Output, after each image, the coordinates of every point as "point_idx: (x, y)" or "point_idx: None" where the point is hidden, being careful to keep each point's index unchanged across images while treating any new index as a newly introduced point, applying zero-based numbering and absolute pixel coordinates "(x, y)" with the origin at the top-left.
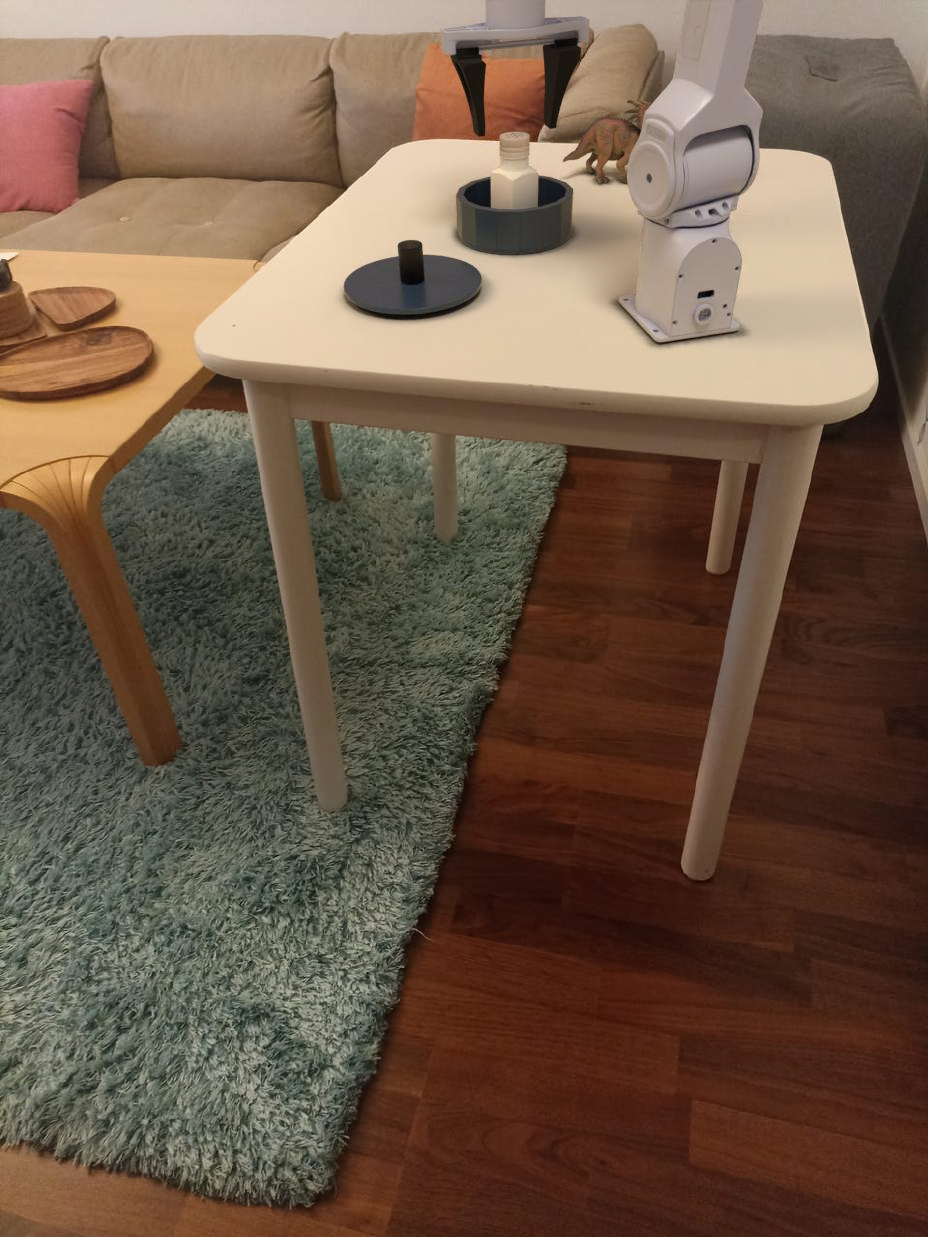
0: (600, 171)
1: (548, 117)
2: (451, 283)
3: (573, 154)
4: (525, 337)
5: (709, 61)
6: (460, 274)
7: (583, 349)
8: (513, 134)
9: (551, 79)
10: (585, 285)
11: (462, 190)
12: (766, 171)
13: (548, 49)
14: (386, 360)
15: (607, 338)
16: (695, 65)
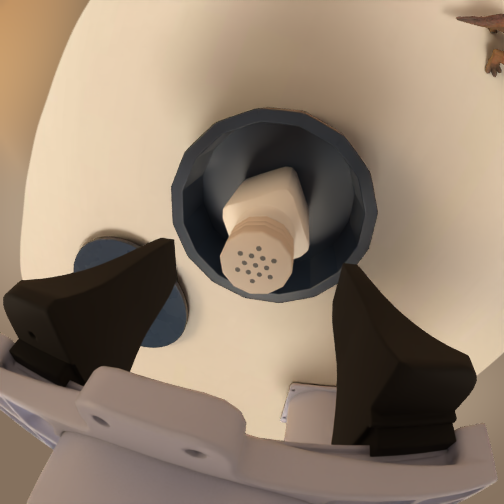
0: (496, 62)
1: (336, 304)
2: (157, 321)
3: (477, 23)
4: (204, 385)
5: None
6: (167, 310)
7: (235, 406)
8: (255, 257)
9: (347, 371)
10: (285, 351)
11: (186, 169)
12: None
13: (365, 416)
14: None
15: (256, 405)
16: None
